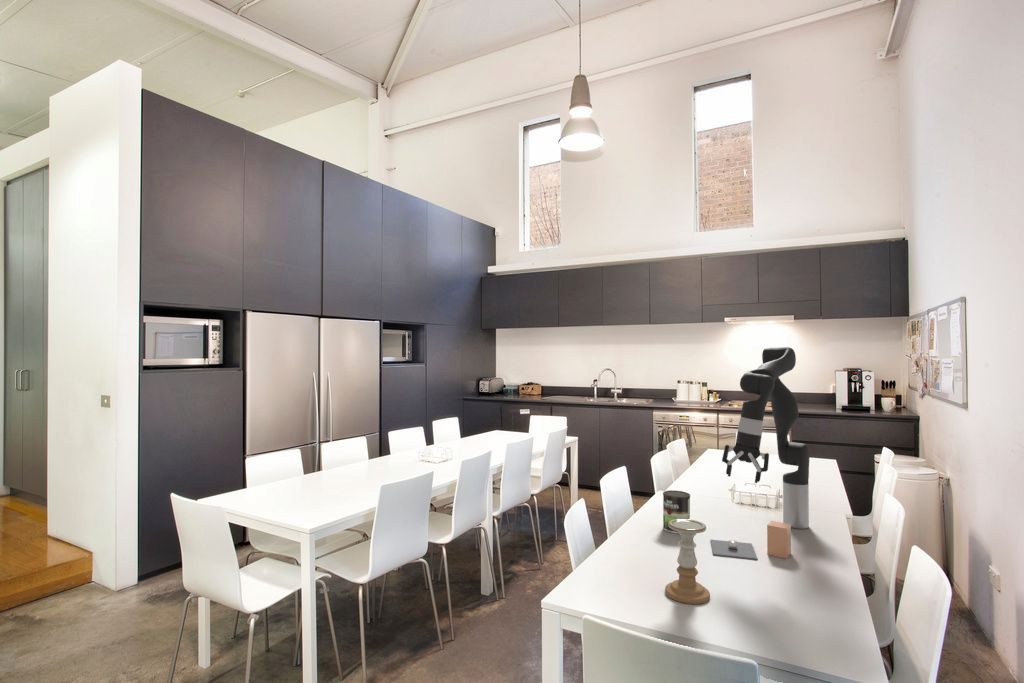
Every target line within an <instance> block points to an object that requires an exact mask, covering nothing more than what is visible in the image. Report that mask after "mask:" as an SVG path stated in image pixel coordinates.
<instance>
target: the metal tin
mask: <svg viewBox="0 0 1024 683" xmlns="http://www.w3.org/2000/svg"><path fill="white" fill-rule="evenodd" d="M727 541H728V548H729V549H731V550H737V542H738V541H736V540H733V539H729V540H727Z"/></svg>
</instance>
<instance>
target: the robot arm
mask: <svg viewBox="0 0 1024 683" xmlns="http://www.w3.org/2000/svg"><path fill="white" fill-rule="evenodd" d="M796 357H797V355H796V352H795V350H794V348H791V347H789V346H778V347H776V346H775V347H773V346H772V347H765V348H764V349H763V351H762V354H761V358H762V359H761V360H762V363H761V365H760V366H758V368H755V369H751V370H750V371H746V372H745V373H744V374H743V375H742V376H741V378H740V381H739V387H740V389H741V390H742V391H743V393H747V394H751V395H752V394H753V395H757V396H759V397H758V398H757V399H756V400H745V401H744V402H743V403H742V406H741V412H740V418H739V422H738V427H737V433H736V434H737V435H736V439H735V444H734V446H732V445H729V444H726V445H724V449H723V454H722V458H721V462H722V463H725V464H726V471H725V473H726V475H727V477H729V478H730V477H731V475H732V470H733V463H735V462H736V461H737V460H738V461H739V462H745V463H749V464H753V466H754V467H755V470H756V473H755V479H754V484H757V483H760V481H761V476H762V473H764V472H766V473H767V472H768V469H769V458H770V454H769V452H761V451H760V448H761V441H762V436H763V430H764V427H763V426H764V418H765V417H764V416H765V410H766V407H767V404H768V402H769V399H770V406H771V411H772V416H773V420H774V426H775V433H776V445H777V454H778V459H779V461H780V463H781V464H783V465H788V466H795V467H797V470H795V471H791V472H786V473H784V474H783V475H782V523H787V524H791V529H792V528H793V529H800V530H801V529H808V528H809V527H810V526H809V525H810V524H809V523H810V519H809V518H810V516H809V515H810V512H809V511H810V508H809V507H810V505H809V504H810V503H809V501H810V500H809V499H810V498H809V495H810V494H809V493H810V492H809V490H810V488H809V487H810V486H809V485H810V484H809V478H810V477H809V476H810V452H811V451H810V448H809V445H808V444H807V443H801V442H794V441H789V438H788V435H789V433H790V431H791V429H792V428H793V426H794V425H795V423H796V422H797V420H798V418H799V414H800V413H799V406H798V400H797V398H796V395H794V394H793V392H792V391H791V390H790V389H789V388H788V387H787V386H786V385H785V384H784V382H783V381H782V380H781V379H780V377H781V376H782V375H784V374H786V373H789V372H790V371H792V370H793V369H794V368H795V366H796V363H797V361H796V360H797V358H796ZM731 451H733V452H734V456H733V457H732V458H731V459H730V460H729V459H728V456H729V453H731ZM760 456H761V459H762V460H763V467H761V465H760V464H759V462H758V460H757V459H758V458H759V457H760Z"/></svg>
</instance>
